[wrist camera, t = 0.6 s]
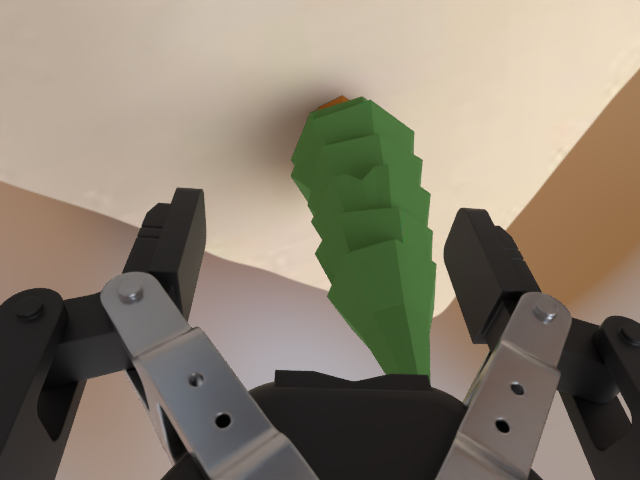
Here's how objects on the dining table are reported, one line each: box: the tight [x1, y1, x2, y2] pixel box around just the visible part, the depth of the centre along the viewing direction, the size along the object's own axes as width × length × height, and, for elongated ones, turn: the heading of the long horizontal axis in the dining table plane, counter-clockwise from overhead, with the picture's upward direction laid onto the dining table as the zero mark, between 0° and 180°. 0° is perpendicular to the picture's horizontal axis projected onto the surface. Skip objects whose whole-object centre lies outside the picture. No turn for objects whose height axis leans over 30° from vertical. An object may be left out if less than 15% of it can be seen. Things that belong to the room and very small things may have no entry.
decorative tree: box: [291, 96, 436, 381], centre depth 28 cm, size 10×9×30 cm
